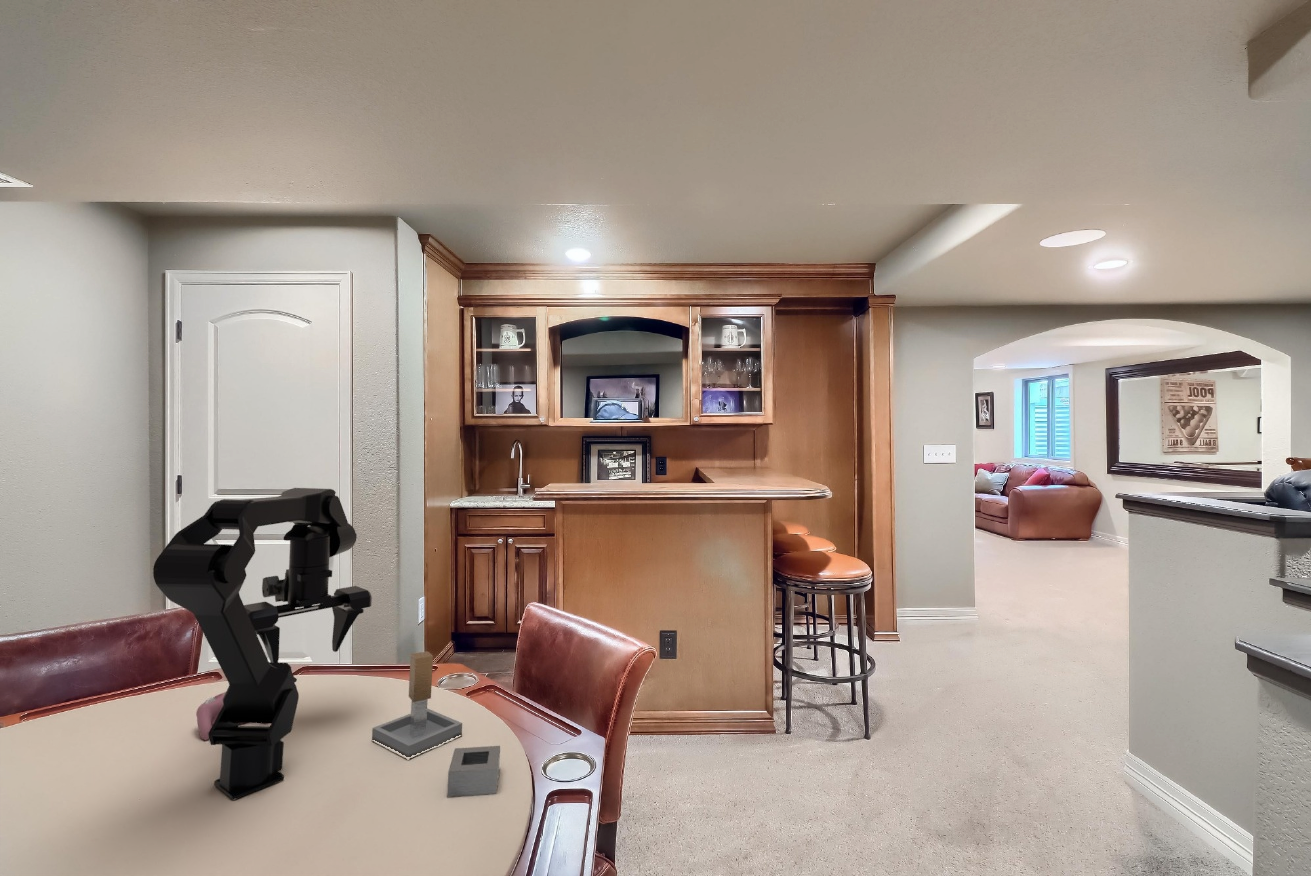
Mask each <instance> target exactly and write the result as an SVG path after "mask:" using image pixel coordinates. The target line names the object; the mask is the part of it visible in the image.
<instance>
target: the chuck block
mask: <svg viewBox="0 0 1311 876" xmlns="http://www.w3.org/2000/svg"><path fill="white" fill-rule="evenodd" d="M500 756H501V745H491V746H490V745H488V746H473V747H457V748H454V750H453V754H452V757H451V762H450V763H449V767H448V768H449V769H448V772H447V773H448V775H447V789H446V790H447V791H446V792H447V793H446V795H447V796H446V798H455V797H457V798H458V797H469V796H481V795H494V794H497V788H498V782H499V773H500V760H501V759H500V758H501V757H500Z"/></svg>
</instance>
